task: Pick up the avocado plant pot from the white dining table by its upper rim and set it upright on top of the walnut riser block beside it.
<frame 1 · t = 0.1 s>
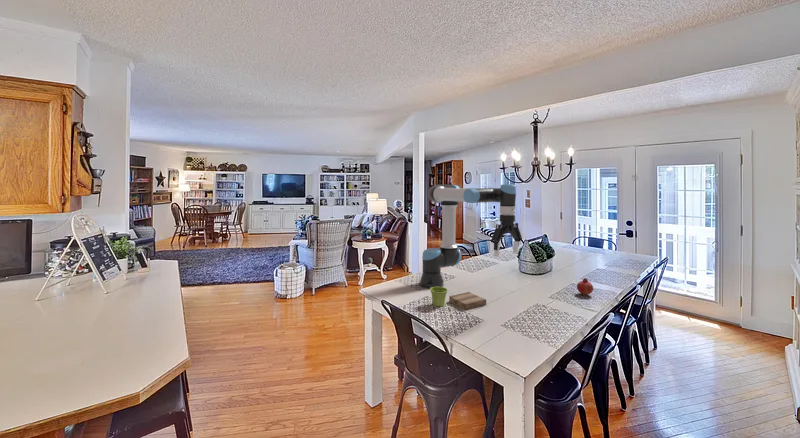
hand: (506, 254, 163), 28 cm above the table, fingers open, 13 cm apart
walnut riser: (467, 303, 171), on the table
plant pot: (438, 305, 169), on the table
fruit: (584, 295, 183), on the table
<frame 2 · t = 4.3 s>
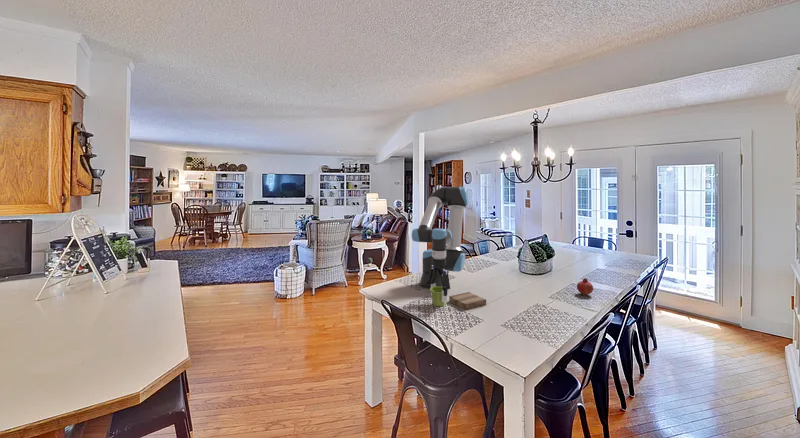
hand: (438, 298, 169), 4 cm above the table, fingers closed on plant pot, 9 cm apart
plant pot: (438, 305, 169), on the table, touching gripper
everything else where it was.
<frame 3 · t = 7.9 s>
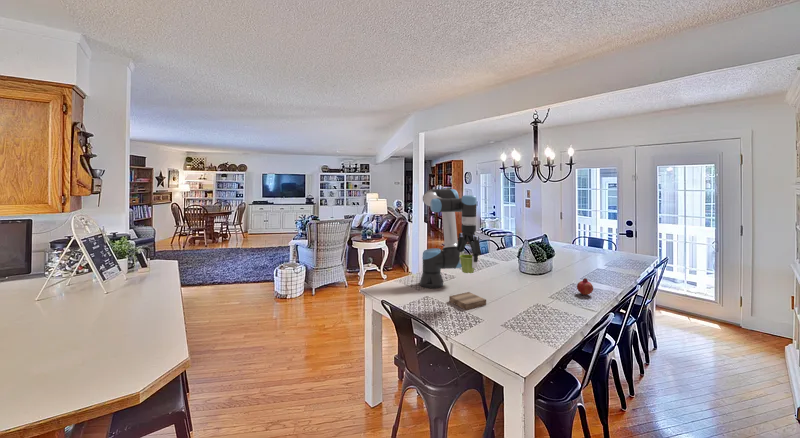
hand: (468, 265, 169), 21 cm above the table, fingers closed on plant pot, 9 cm apart
plant pot: (467, 272, 169), point 17 cm above the table, touching gripper
everything else where it was.
when the fingers open (7 cm above the table, at t = 11.5 s): plant pot stays where it is, resting on walnut riser.
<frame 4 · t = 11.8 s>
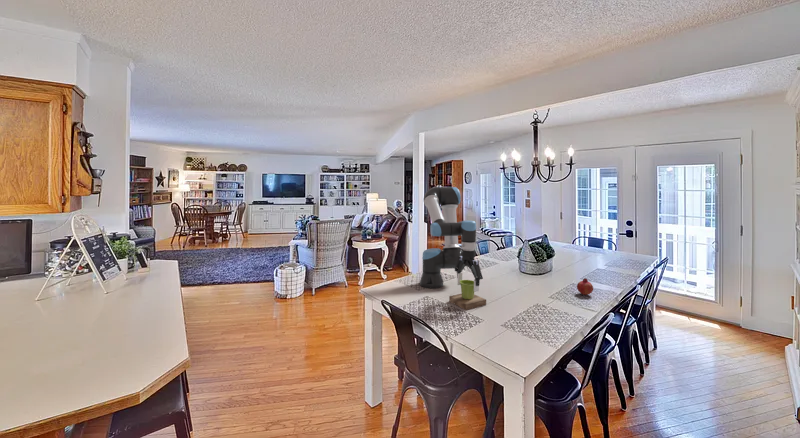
hand: (467, 287, 170), 9 cm above the table, fingers open, 13 cm apart
plant pot: (467, 298, 171), point 3 cm above the table, touching walnut riser
everything else where it was.
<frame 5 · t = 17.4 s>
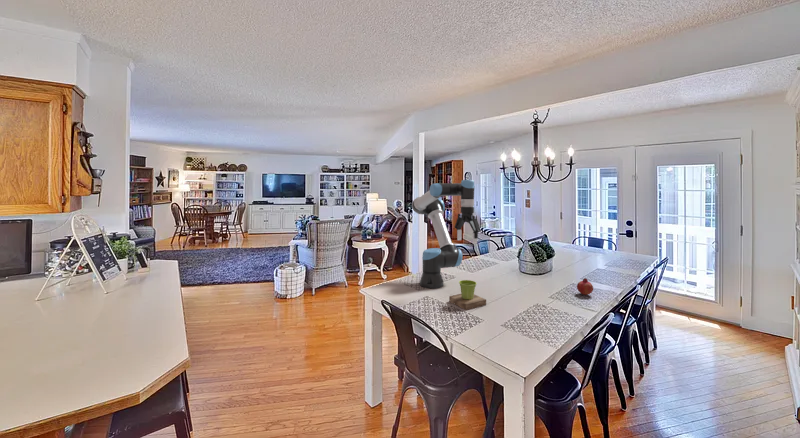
hand: (466, 242, 185), 31 cm above the table, fingers open, 13 cm apart
nothing on the table moved.
at the end: plant pot inside the target area on the walnut riser (0.0 cm from its centre), point 2.8 cm above the walnut riser's base; plant pot tilted 0°; the gripper is holding nothing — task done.
